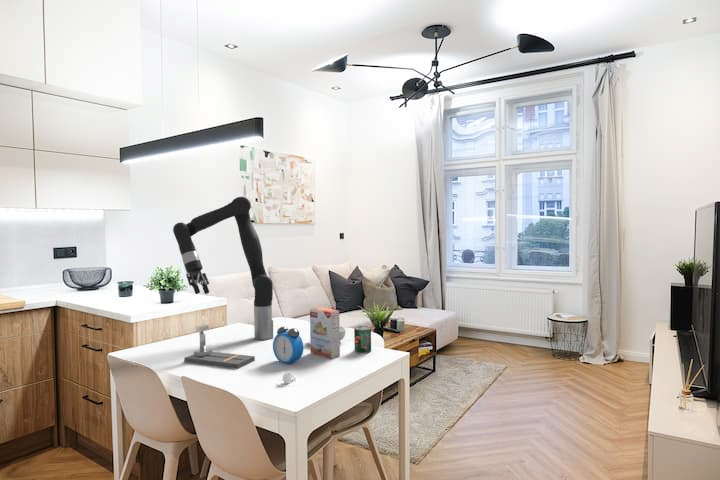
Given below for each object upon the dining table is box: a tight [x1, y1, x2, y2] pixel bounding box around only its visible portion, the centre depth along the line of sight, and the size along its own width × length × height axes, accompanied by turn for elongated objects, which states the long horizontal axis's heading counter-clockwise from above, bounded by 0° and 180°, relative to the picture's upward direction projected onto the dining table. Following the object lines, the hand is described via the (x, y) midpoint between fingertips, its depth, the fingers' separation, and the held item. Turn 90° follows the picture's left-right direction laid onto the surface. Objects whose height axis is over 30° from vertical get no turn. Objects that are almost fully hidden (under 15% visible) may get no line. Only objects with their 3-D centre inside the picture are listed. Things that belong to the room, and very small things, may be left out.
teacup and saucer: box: [276, 371, 299, 387], centre depth 171 cm, size 9×8×4 cm
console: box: [183, 351, 256, 370], centre depth 199 cm, size 28×12×2 cm, turn 68°
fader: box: [193, 324, 213, 356], centre depth 202 cm, size 5×6×13 cm
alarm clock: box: [272, 326, 304, 365], centre depth 197 cm, size 13×6×15 cm, turn 54°
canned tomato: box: [353, 325, 372, 354], centre depth 213 cm, size 8×8×11 cm
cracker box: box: [309, 306, 341, 359], centre depth 207 cm, size 14×6×21 cm, turn 47°
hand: (202, 293), depth 218 cm, fingers open, 8 cm apart
